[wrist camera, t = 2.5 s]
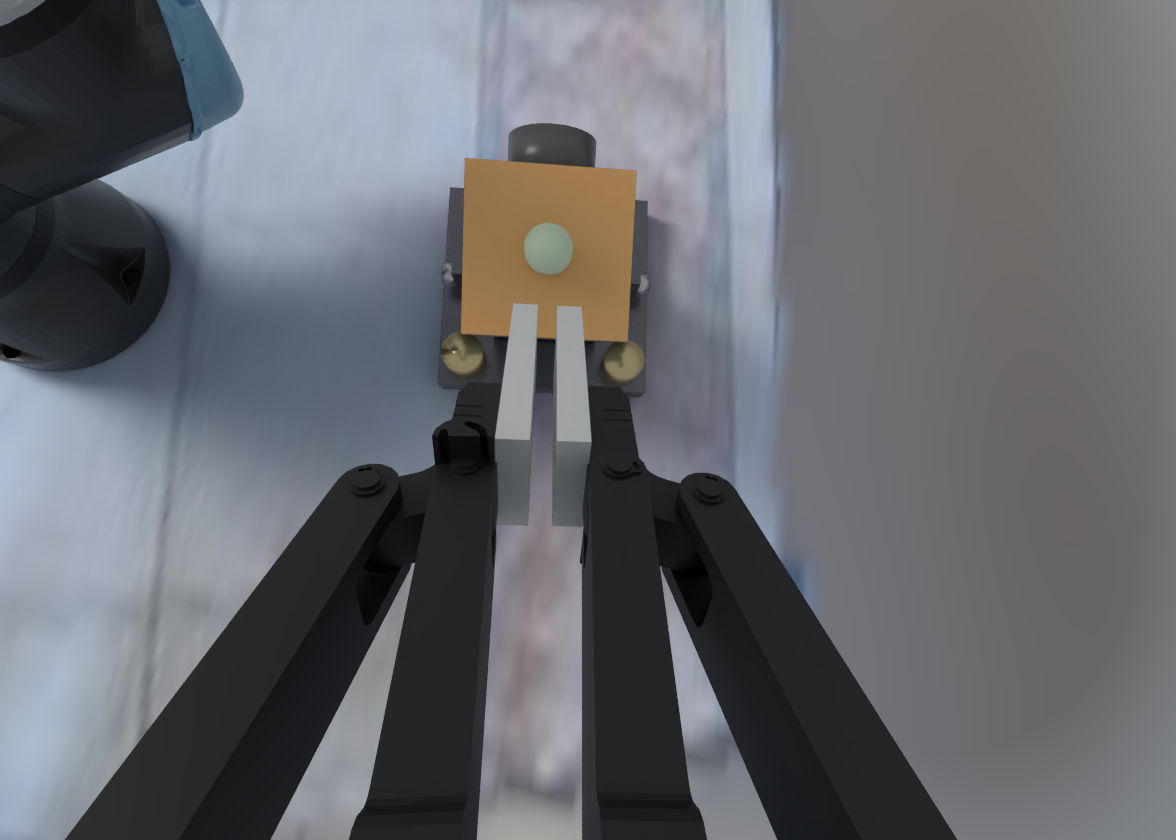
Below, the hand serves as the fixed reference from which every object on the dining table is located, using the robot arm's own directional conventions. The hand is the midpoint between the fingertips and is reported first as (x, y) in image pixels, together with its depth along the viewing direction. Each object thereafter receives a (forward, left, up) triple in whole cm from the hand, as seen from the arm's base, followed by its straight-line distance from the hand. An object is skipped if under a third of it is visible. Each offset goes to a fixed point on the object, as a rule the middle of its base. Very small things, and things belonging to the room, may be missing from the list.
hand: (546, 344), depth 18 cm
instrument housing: (-10, +8, -24) cm, 27 cm away
